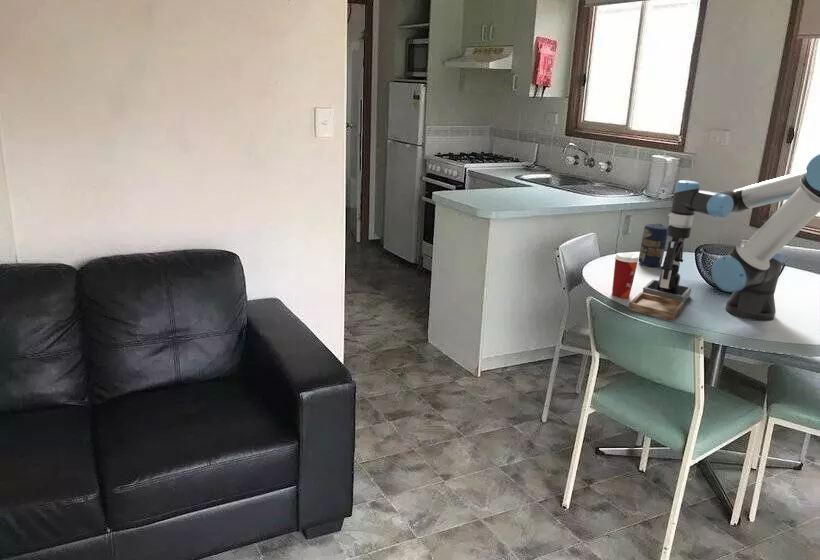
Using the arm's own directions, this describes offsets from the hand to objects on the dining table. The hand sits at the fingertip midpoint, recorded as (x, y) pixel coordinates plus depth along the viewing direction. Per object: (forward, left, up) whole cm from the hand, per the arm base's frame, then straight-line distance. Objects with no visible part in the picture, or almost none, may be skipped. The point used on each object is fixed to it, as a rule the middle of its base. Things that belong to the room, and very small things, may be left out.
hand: (668, 283), depth 228 cm
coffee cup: (+13, +10, -5) cm, 18 cm away
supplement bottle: (0, 0, -6) cm, 6 cm away
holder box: (0, 0, -5) cm, 5 cm away
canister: (+16, -40, -5) cm, 43 cm away
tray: (-1, +17, -5) cm, 17 cm away
